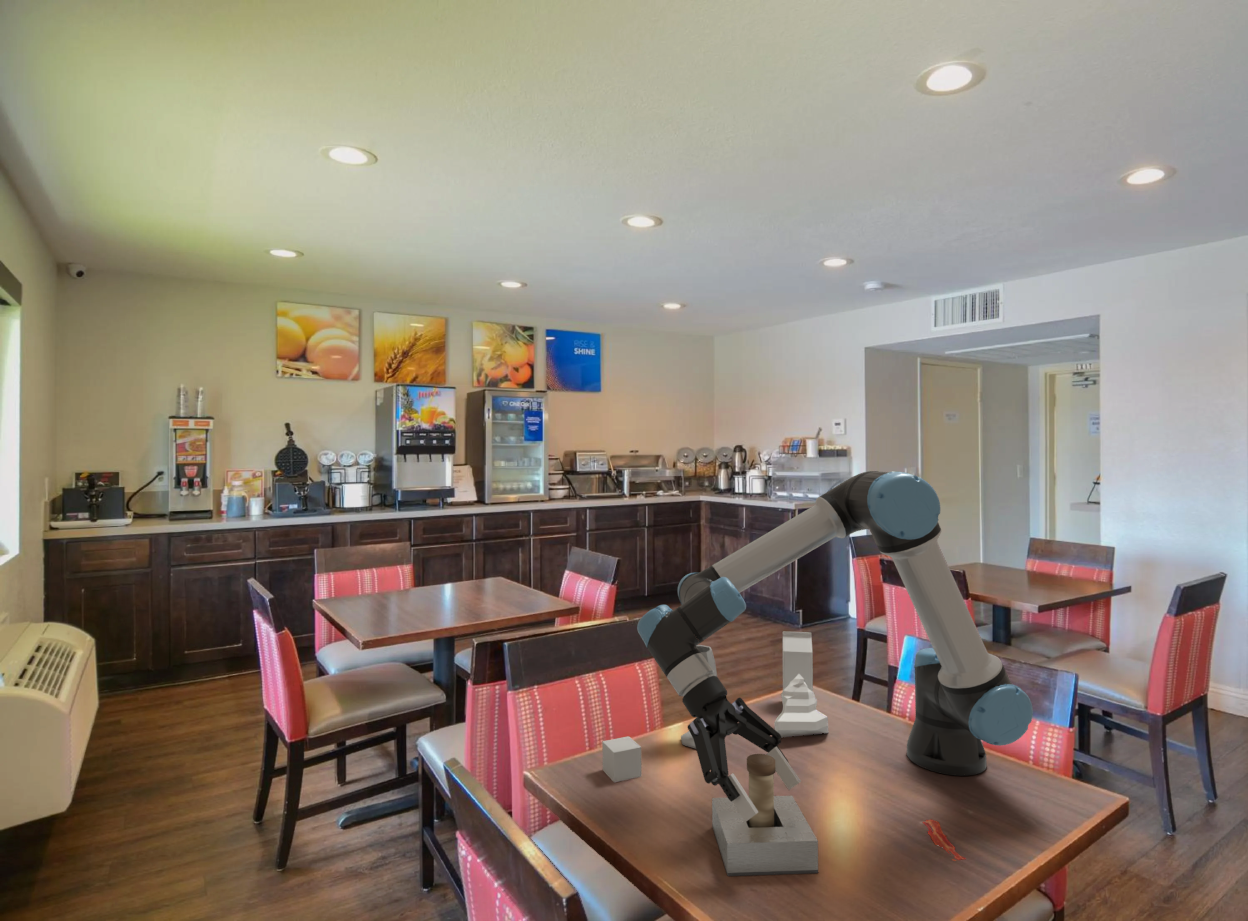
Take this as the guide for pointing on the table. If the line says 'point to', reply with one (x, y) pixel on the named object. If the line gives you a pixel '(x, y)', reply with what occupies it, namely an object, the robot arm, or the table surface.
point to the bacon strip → (941, 838)
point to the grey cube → (621, 759)
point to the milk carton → (797, 657)
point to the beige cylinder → (761, 789)
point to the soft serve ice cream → (800, 711)
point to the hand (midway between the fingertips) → (774, 801)
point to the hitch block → (765, 840)
